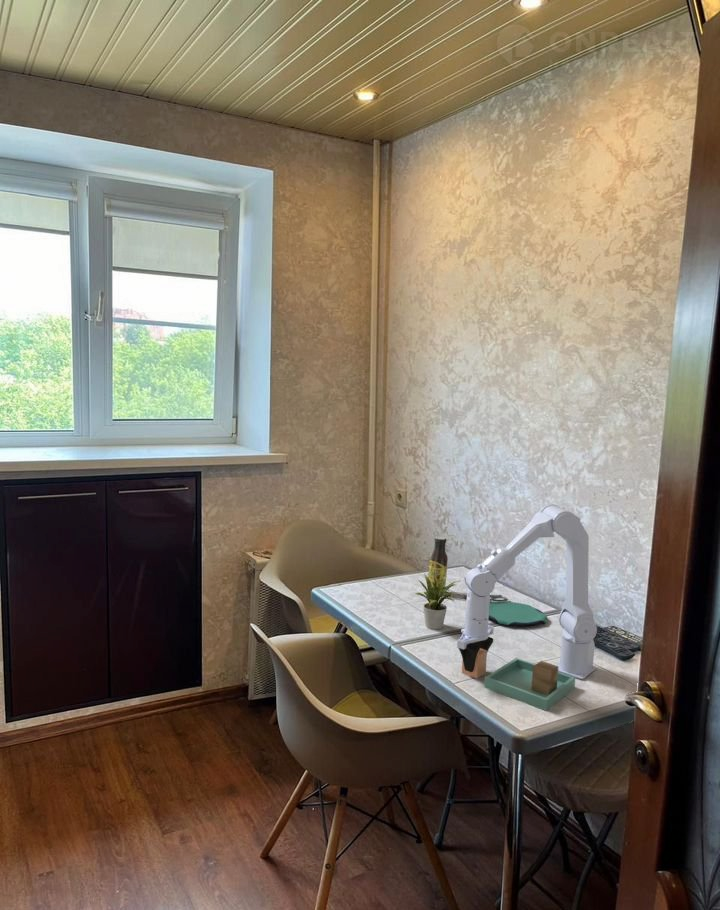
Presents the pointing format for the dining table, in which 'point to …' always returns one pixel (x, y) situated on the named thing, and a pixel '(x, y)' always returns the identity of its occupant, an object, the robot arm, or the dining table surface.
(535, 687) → the walnut block
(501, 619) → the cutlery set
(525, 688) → the tray
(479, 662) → the terracotta block
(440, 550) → the sauce bottle
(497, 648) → the dining table surface
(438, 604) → the house plant
